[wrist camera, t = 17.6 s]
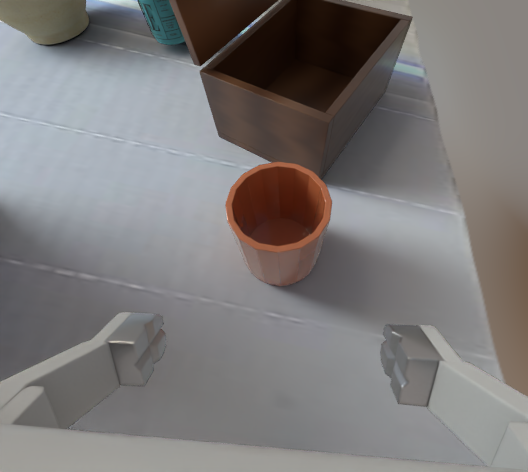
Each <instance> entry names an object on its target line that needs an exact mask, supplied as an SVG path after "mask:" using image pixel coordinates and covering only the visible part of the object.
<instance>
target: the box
mask: <svg viewBox="0 0 528 472" xmlns="http://www.w3.org/2000/svg"><path fill="white" fill-rule="evenodd" d="M412 18H413V17H411V16H407V15H402V14H398V13H394V12H390V11H385V10H381V9H377V8H372V7H368V6H364V5H360V4H355V3H351V2H347V1H343V0H282V1H281V2H280V3H279V4H277V5H276V6H275V7H274V8H273V9H272V10H270V11H269V12H268V13H267V14H266V15H265V16H263V17H262V18H261V19H260V20H259V21H258V22H256V23H255V24H254V25H253V26H252V27H251V28H249V29H248V30H247V31H246V32H245V33H244V34H243V35H241V36H240V37H239V38H238V39H237V40H236V41H234V42H233V43H232V44H231V45H230V46H229V47H227V48H226V49H225V50H224V51H223V52H222V53H220V54H219V55H218V56H217V57H216V58H215V59H213V60H212V61H211V62H210V63H209V64H208V65H206V67H204V68H203V69H202V70H201V71H200V75H201V78H202V82H203V85H204V88H205V92H206V95H207V98H208V102H209V105H210V108H211V112H212V115H213V118H214V122H215V125H216V128H217V131H218V135H219V137H221V138H223V139H225V140H227V141H229V142H231V143H234V144H236V145H238V146H240V147H242V148H244V149H246V150H248V151H250V152H252V153H254V154H256V155H258V156H260V157H262V158H264V159H266V160H268V161H271V162H273V163H274V162H285V163H293V164H298V165H300V166H302V167H304V168H306V169H309V170H311V171H313V172H314V173H315V174H316V175H317V176H318V177H319V178H320V179H322V178H323V177H324V175H325V174H326V172H327V171H328V170H329V168H330V167H331V166H332V164H333V163H334V161H335V160H336V159H337V157H338V156H339V155H340V153H341V152H342V150H343V149H344V148H345V146H346V145H347V144H348V142H349V141H350V139H351V138H352V137H353V135H354V134H355V132H356V131H357V130H358V128H359V127H360V126H361V124H362V123H363V121H364V120H365V119H366V117H367V116H368V115H369V113H370V112H371V110H372V109H373V108H374V106H375V105H376V104H377V102H378V101H379V99H380V98H381V97H382V95H383V94H384V92H385V91H386V88H387V85H388V83H389V80H390V77H391V75H392V72H393V69H394V67H395V64H396V61H397V59H398V56H399V53H400V51H401V48H402V45H403V42H404V40H405V37H406V34H407V32H408V29H409V26H410V24H411V21H412Z"/></svg>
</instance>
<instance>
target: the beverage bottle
mask: <svg viewBox="0 0 528 472" xmlns="http://www.w3.org/2000/svg"><path fill="white" fill-rule="evenodd" d="M137 1H138V3H139V2H140V3H139V5H140V8H141V7H142V8H141V10H142V9H143V11H142V12H144V13H143V15H144V14H145V16H146V18H145V19H147V21H148V23H147V24H149V25H148V26H150V28H151V30H150V31H151V32H152V33H153V35H154V37H155V38H156V40H157V41H158V42H159V43H162V44H166V45H174V44H179V43H183V42H185V39H184V37H183V34H182V32H181V29H180V27H179V24H178V22H177V19H176V17H175V14H174V12H173V9H172V7H171V4H170V2H169V0H137ZM145 16H144V17H145ZM147 21H146V22H147ZM152 33H151V34H152Z"/></svg>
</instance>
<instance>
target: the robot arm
mask: <svg viewBox="0 0 528 472" xmlns="http://www.w3.org/2000/svg"><path fill="white" fill-rule="evenodd" d="M163 324H164V323H163V319H162V316H161V315H160V314H148V313H132V312H121V313H118V314H117V315H116V316H115V317H114V318H113V319H112V320H111V321H110V322H109V323H108V324H107V325H106V326H105V327H104V328H103V329H102V330H101V331H100V332H99V333H98V334H97V335H96V336H95V337H94V338H93V339H92V340H91V341H85V342H83V343H81V344H79V345H77V346H74V347H72V348H70V349H68V350H66V351H64V352H62V353H60V354H58V355H55V356H53V357H51V358H49V359H47V360H45V361H43V362H41V363H39V364H36V365H34V366H32V367H30V368H28V369H26V370H24V371H22V372H20V373H17V374H15V375H13V376H11V377H9V378H7V379H5V380H3V381H1V382H0V472H528V397H527V396H526V395H524V394H522V393H520V392H519V391H517V390H515V389H514V388H512V387H510V386H509V385H507V384H505V383H503V382H502V381H500V380H498V379H497V378H495V377H493V376H492V375H490V374H488V373H486V372H485V371H483V370H481V369H480V368H478V367H476V366H475V365H473V364H471V363H469V362H463V360H462V359H461V358H460V357H459V355H458V354H457V353H456V352H455V351H454V349H453V348H452V347H451V346H450V344H449V343H448V342H447V341H446V339H445V338H444V337H443V336H442V334H441V333H440V332H439V331H438V330H437V328H436V327H434V326H432V325H416V326H415V325H390V324H386V325H385V327H384V332H383V335H384V337H385V339H386V341H384V342H383V343H382V344H381V351H380V354H381V363H382V367H383V369H384V372H385V374H386V375H388V376H389V377H390V378H391V383H390V386H391V388H392V391H393V393H394V395H395V398H396V400H397V402H398V404H403V405H413V406H423V407H427V409H428V410H429V411H430V412H431V413H432V414H433V415H434V416H436V417H437V418H438V419H439V420H440V421H441V422H442V423H443V424H444V425H445V426H446V427H447V428H448V429H449V430H450V431H451V432H452V433H453V434H454V435H455V436H456V437H457V438H458V439H459V440H460V441H461V442H462V443H463V444H464V445H465V446H466V447H467V448H468V449H469V450H471V451H472V452H473V453H474V454H475V455H476V456H477V457H478V458H479V459H480V460H481V461H482V462H483V463H484V464H485V465H486V466H477V465H465V464H454V463H443V462H432V461H420V460H409V459H398V458H387V457H375V456H364V455H353V454H341V453H330V452H319V451H308V450H296V449H285V448H274V447H262V446H251V445H240V444H229V443H217V442H206V441H195V440H184V439H172V438H161V437H150V436H139V435H127V434H116V433H105V432H94V431H82V430H71V429H67V428H68V427H70V426H71V425H72V424H73V423H75V422H76V421H77V420H78V419H80V418H81V417H82V416H84V415H85V414H86V413H87V412H89V411H90V410H91V409H92V408H94V407H95V406H96V405H98V404H99V403H100V402H101V401H103V400H104V399H105V398H106V397H108V396H109V395H110V394H111V393H113V392H114V391H115V390H117V389H118V388H119V387H120V385H128V386H145V384H146V382H147V381H148V379H149V377H150V376H151V374H152V372H153V371H154V368H153V364H155V363H156V362H158V361H159V360H160V359H161V357H162V355H163V354H164V350H165V347H166V334H165V332H164V331H163V330H162V329H161V327H162V325H163Z"/></svg>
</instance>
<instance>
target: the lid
mask: <svg viewBox="0 0 528 472" xmlns="http://www.w3.org/2000/svg"><path fill="white" fill-rule="evenodd" d="M277 1H278V0H169V2H170V4H171V7H172V9H173V12H174V14H175V17H176V19H177V22H178V24H179V27H180V29H181V32H182V34H183V37H184V39H185V42H186V45H187V47H188V50H189V52H190V55H191V57H192V60H193V62H194V65H197V66H201V65H203V64H204V63H205V62H206V61H207V60H208V59H210V58H211V57H212V56H213V55H214V54H216V53H217V52H218V51H219V50H220V49H221V48H223V47H224V46H225V45H226V44H227V43H228V42H230V41H231V40H232V39H233V38H234V37H235V36H237V35H238V34H239V33H240V32H241V31H242V30H244V29H245V28H246V27H247V26H248V25H250V24H251V23H252V22H253V21H254V20H255V19H257V18H258V17H259V16H260V15H261V14H262V13H264V12H265V11H266V10H267V9H268V8H269V7H271V6H272V5H273V4H274V3H275V2H277Z"/></svg>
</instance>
